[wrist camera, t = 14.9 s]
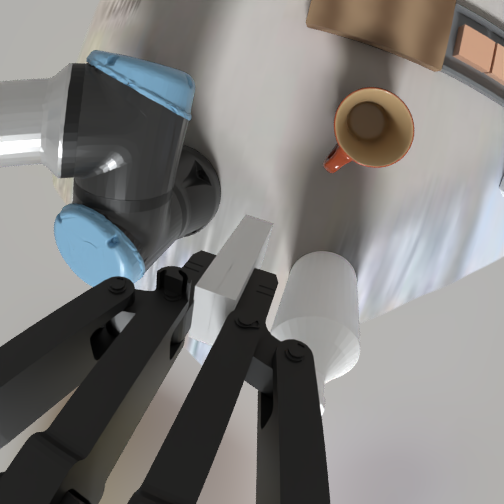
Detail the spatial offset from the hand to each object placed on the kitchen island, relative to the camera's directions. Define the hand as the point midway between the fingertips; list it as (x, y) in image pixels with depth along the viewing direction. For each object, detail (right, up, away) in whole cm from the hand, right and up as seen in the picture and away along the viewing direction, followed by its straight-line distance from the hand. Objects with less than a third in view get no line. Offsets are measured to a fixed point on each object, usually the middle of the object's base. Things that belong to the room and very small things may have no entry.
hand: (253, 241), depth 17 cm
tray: (+33, +26, +10) cm, 43 cm away
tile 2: (+29, +27, +10) cm, 41 cm away
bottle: (+12, -5, +35) cm, 37 cm away
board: (+17, +31, +12) cm, 38 cm away
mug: (+14, +16, +22) cm, 31 cm away
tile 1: (+34, +24, +8) cm, 42 cm away
